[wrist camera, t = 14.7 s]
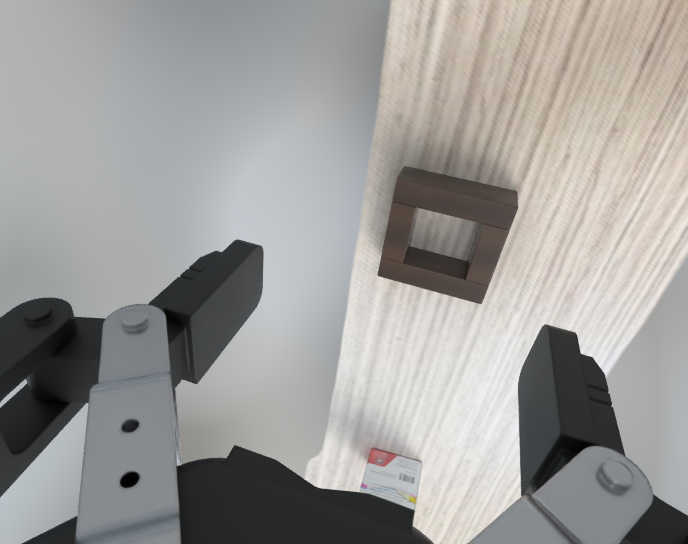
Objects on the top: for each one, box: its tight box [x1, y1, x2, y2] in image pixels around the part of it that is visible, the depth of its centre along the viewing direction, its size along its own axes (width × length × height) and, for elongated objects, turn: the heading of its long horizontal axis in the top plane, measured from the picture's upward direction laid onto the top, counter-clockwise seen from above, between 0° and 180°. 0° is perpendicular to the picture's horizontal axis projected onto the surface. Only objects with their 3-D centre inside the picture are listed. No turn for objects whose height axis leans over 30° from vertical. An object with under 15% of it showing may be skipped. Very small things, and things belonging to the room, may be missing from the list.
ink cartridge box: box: [360, 449, 422, 526], centre depth 68 cm, size 9×5×15 cm, turn 87°
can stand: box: [378, 166, 518, 304], centre depth 49 cm, size 12×12×4 cm
